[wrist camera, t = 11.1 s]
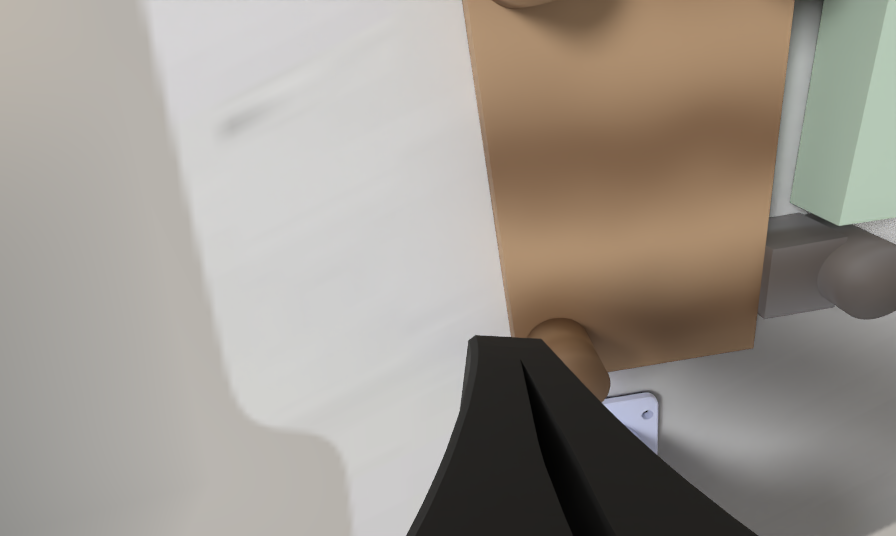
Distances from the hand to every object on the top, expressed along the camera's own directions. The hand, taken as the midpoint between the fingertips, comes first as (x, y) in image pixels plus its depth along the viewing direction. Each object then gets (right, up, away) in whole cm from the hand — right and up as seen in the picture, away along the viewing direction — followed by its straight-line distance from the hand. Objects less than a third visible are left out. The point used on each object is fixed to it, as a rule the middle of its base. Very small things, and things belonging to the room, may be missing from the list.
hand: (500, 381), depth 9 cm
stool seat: (+7, +7, +8) cm, 13 cm away
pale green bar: (+12, +9, +7) cm, 17 cm away
